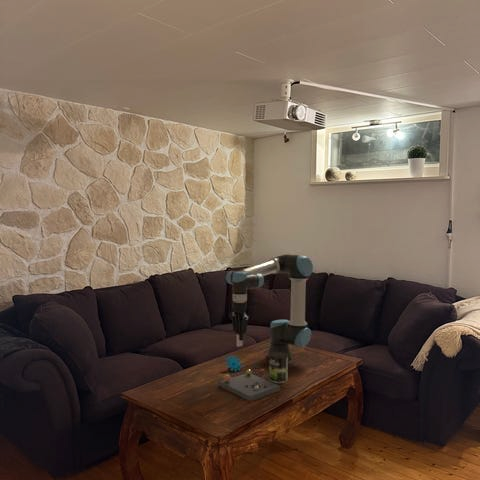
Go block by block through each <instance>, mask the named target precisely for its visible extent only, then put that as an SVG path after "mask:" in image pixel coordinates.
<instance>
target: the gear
mask: <svg viewBox="0 0 480 480" xmlns="http://www.w3.org/2000/svg"><path fill="white" fill-rule="evenodd" d="M240 360H241V359H240V358H237V356H236V355H232V354H231V355H230V356H227V358H226V359H225V366H227V367H226V368H227V369H230V371H231V372H233V371H234V372H237V371H240V369H241V368H242V367H243V366H242V364H243V363H244V361H240Z"/></svg>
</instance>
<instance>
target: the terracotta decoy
mask: <svg viewBox="0 0 480 480" xmlns="http://www.w3.org/2000/svg"><path fill="white" fill-rule="evenodd" d="M231 378H232V376H231V375H230V374H228V373H226V374H224V376H223V379H222V381H223V380H224V381H225V382H229V381H230V380H231Z"/></svg>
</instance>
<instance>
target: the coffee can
mask: <svg viewBox="0 0 480 480" xmlns="http://www.w3.org/2000/svg"><path fill="white" fill-rule="evenodd" d="M268 359H269V361H268V363H269V364H268V381H269V382H272V383H274V384H284V383H287V382H288V380H289V379H288V373H289V372H288V371H289V370H288V366H289V365H288V364H289V360H288V354H287V353H285V352H281V351H275V352H271V353H269V358H268Z"/></svg>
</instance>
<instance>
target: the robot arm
mask: <svg viewBox="0 0 480 480" xmlns="http://www.w3.org/2000/svg"><path fill="white" fill-rule="evenodd" d="M313 269H314V265H313V262H312V260H311V258H310V257H308V256H306V255H303V254H302V255H299V254H289V253H287V254H282V255H278V256H275V257H271V258H269V259H268V260H267V261H265V262H261V263H258V264H256V265H252V266H248V267H246V268H243V269H240V270H229V271H228V272H227V274H226V276H225V280H226V282H227V283H228V284H229V285H232V310H233V311H232V312H230V314H229V315H230V317H231V323H232V330H233V332H234V333H235V338H236V347H238V348H239V347H243V340H244V334H246V333H247V329H248V322H249V319H250V316H247V311H246V310H247V309H248V302H247V301H248V290H249V289H258V288H260V287H262V286H263V285H264V282H265V279H264V277H265V276H267V275H271V274H274V275H276V274H287V275H288V279H289V280H290V281H291V282H290V283H291V284H290V285H291V286H290V320H288V319H276V320H272V321H271V322H270V328H269V329H270V331H269V335H270V337H269V338H270V340H269V343H270V344H269V347H268V351H267V353H266V354H267V358H268V359H269V353H271V352H275V351H281V352H285V353H287V354H288V361H289V360H291V359H292V357H293V354H292V353H293V352H291V351H292V350H291V347H290V345H293V346H295V347H304V348H305V347H306V346H307V345H308V344H309V342H310V340H311V338H312V330H311V329H310V328H309V327H308V322H307V321H306V289H307V287H306V286H307V285H306V283H307V280H309V277H310V276H311V275H312V273H313V271H314V270H313Z"/></svg>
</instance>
